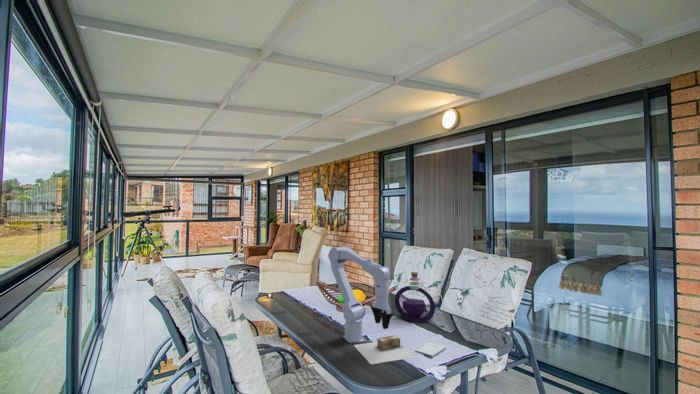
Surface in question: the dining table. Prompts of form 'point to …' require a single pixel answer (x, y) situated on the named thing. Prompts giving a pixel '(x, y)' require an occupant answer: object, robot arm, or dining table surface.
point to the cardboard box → (388, 342)
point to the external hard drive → (431, 349)
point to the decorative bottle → (414, 303)
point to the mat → (382, 353)
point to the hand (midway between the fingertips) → (381, 325)
